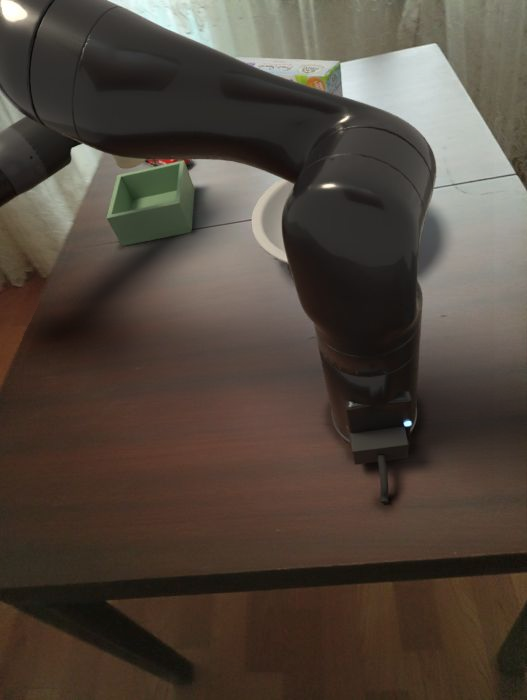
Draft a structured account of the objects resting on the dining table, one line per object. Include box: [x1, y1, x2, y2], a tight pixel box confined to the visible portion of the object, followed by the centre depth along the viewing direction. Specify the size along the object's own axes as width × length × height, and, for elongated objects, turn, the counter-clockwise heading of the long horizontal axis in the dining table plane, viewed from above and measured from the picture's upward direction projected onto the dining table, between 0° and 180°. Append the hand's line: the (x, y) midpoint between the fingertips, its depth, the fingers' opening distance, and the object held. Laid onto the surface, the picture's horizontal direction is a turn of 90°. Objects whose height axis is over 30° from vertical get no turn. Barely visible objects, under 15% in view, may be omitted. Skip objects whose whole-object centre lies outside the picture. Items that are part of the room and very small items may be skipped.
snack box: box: [234, 56, 344, 97], centre depth 88 cm, size 21×6×15 cm, turn 58°
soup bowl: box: [251, 178, 294, 265], centre depth 73 cm, size 24×24×7 cm
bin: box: [106, 160, 196, 247], centre depth 87 cm, size 13×13×6 cm
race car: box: [144, 159, 191, 167], centre depth 99 cm, size 13×5×4 cm, turn 39°
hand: (121, 94), depth 73 cm, fingers closed on canister, 5 cm apart
